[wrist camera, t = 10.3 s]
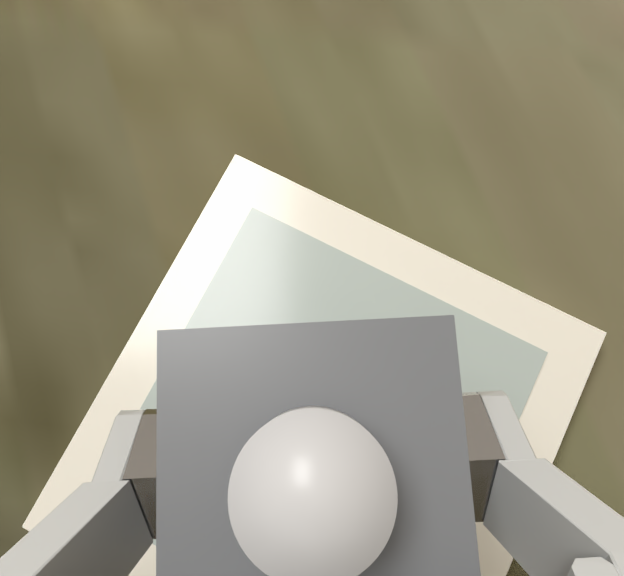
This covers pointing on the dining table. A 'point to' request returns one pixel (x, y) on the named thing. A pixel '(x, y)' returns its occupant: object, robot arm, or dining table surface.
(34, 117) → the dining table surface
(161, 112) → the dining table surface
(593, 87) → the dining table surface
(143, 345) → the plate
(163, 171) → the dining table surface
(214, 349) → the plug
